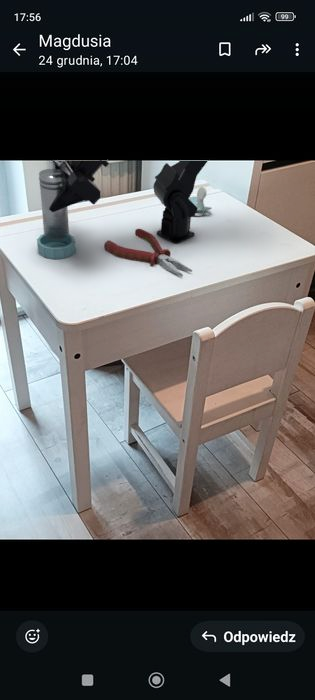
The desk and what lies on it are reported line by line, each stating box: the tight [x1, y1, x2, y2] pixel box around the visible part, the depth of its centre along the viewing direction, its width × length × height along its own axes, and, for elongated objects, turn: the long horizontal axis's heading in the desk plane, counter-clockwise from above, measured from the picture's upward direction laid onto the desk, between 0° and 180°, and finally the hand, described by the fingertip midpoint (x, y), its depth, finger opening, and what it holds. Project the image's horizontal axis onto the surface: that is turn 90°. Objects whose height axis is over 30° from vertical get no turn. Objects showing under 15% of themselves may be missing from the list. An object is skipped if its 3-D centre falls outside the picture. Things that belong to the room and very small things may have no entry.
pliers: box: [103, 228, 193, 277], centre depth 122 cm, size 12×20×3 cm, turn 46°
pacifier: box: [189, 186, 212, 217], centre depth 140 cm, size 7×6×6 cm
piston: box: [38, 168, 70, 239], centre depth 116 cm, size 5×5×13 cm
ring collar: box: [36, 233, 76, 260], centre depth 122 cm, size 8×8×2 cm
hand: (47, 204), depth 116 cm, fingers closed on piston, 5 cm apart
